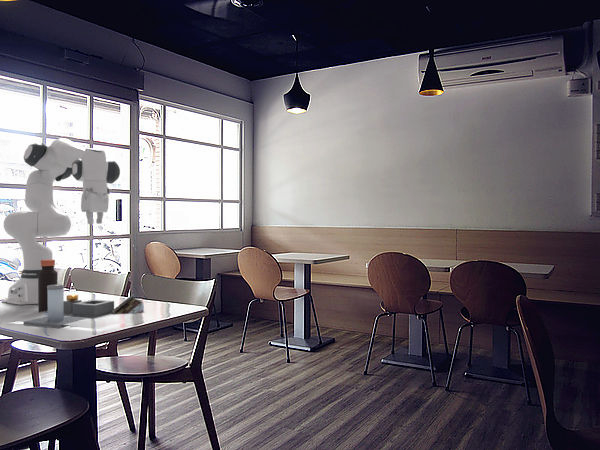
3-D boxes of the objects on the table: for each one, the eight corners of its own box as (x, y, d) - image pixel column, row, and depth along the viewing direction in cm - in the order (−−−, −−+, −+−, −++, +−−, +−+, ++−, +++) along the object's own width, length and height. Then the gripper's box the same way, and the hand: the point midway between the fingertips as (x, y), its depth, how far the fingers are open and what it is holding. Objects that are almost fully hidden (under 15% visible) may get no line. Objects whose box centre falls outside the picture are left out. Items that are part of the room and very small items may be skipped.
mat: (23, 324, 175) (23, 321, 175) (51, 318, 186) (51, 315, 186) (60, 328, 169) (60, 325, 169) (86, 321, 180) (86, 318, 180)
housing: (45, 316, 188) (45, 303, 188) (77, 309, 203) (77, 297, 203) (93, 321, 181) (93, 307, 181) (123, 313, 196) (123, 300, 196)
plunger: (64, 310, 193) (64, 296, 193) (72, 308, 197) (72, 294, 196) (72, 311, 191) (72, 296, 191) (80, 309, 195) (80, 295, 195)
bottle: (35, 313, 195) (35, 260, 195) (41, 310, 202) (41, 259, 202) (55, 312, 197) (54, 260, 196) (59, 309, 203) (59, 259, 203)
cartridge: (44, 320, 177) (44, 285, 177) (59, 317, 181) (59, 284, 181) (51, 322, 174) (51, 286, 174) (66, 319, 178) (66, 285, 178)
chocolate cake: (124, 320, 186) (145, 294, 193) (110, 313, 189) (130, 288, 195) (133, 333, 193) (152, 307, 200) (119, 326, 196) (138, 301, 202)
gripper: (93, 187, 193) (93, 224, 193) (111, 190, 213) (111, 223, 214) (76, 187, 193) (76, 224, 193) (95, 190, 213) (96, 223, 213)
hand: (95, 223), depth 203 cm, fingers open, 8 cm apart
